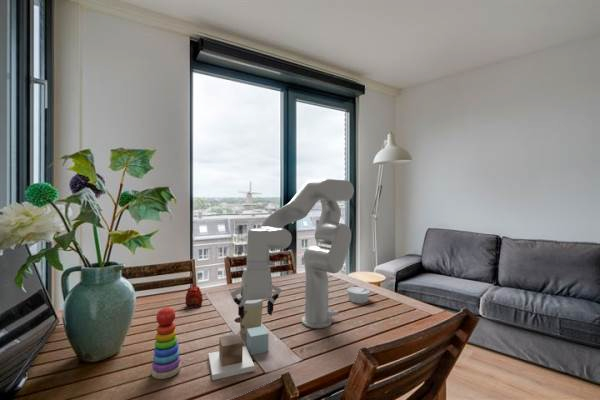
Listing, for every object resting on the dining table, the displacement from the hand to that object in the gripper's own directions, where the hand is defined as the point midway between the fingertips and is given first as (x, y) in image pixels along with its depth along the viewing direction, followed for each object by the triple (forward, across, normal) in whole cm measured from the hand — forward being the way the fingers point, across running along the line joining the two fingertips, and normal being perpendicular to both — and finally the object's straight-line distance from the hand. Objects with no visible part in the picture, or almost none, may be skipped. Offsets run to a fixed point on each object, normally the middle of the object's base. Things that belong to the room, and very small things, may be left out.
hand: (255, 315), depth 97 cm
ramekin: (+10, -60, -26) cm, 66 cm away
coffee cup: (+11, -2, -14) cm, 18 cm away
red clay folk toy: (+12, +17, -48) cm, 53 cm away
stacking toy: (+12, +27, +3) cm, 30 cm away
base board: (+12, +9, +6) cm, 16 cm away
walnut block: (+10, +9, +6) cm, 15 cm away
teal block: (+12, -1, 0) cm, 12 cm away
